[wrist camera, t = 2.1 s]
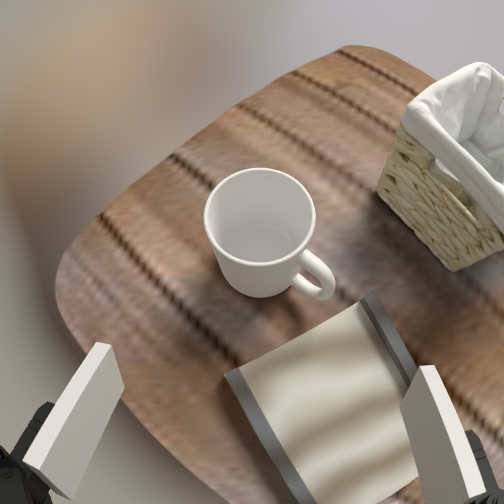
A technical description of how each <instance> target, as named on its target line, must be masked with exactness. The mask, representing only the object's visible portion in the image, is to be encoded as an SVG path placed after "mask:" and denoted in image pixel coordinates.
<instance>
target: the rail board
mask: <svg viewBox="0 0 504 504" xmlns="http://www.w3.org/2000/svg"><path fill="white" fill-rule="evenodd" d="M417 371H418V369H417V367H416V365H415V363H414V361H413V359H412V357H411V356H410V354H409V352H408V350H407V348H406V346H405V344H404V343H403V341H402V339H401V337H400V335H399V334H398V332H397V330H396V328H395V327H394V325H393V323H392V321H391V319H390V318H389V316H388V314H387V313H386V311H385V309H384V307H383V306H382V304H381V302H380V301H379V299H378V297H377V296H376V294H375V292H374V291H373V292H372V293H370V294H369V295H367V296H365V297H364V298H363V299H361V300H360V301H359V302H357V303H355V304H354V305H352V306H350V307H349V308H347V309H345V310H344V311H342V312H340V313H339V314H337V315H335V316H334V317H332V318H330V319H329V320H327V321H325V322H323V323H322V324H320V325H318V326H316V327H315V328H313V329H311V330H309V331H308V332H306V333H304V334H302V335H300V336H299V337H297V338H295V339H293V340H291V341H289V342H287V343H286V344H284V345H282V346H280V347H278V348H276V349H274V350H272V351H270V352H269V353H267V354H265V355H263V356H261V357H259V358H257V359H255V360H253V361H251V362H249V363H247V364H245V365H243V366H241V367H237V368H235V369H233V370H231V371H229V372H227V373H225V374H224V376H225V378H226V380H227V381H228V383H229V385H230V387H231V389H232V391H233V393H234V395H235V397H236V398H237V400H238V402H239V404H240V406H241V408H242V409H243V411H244V413H245V415H246V417H247V419H248V420H249V422H250V424H251V426H252V427H253V429H254V431H255V433H256V434H257V436H258V438H259V440H260V441H261V443H262V445H263V447H264V448H265V450H266V452H267V453H268V455H269V457H270V458H271V460H272V462H273V463H274V465H275V467H276V468H277V470H278V472H279V473H280V475H281V476H282V478H283V480H284V481H285V483H286V484H287V486H288V487H289V489H290V491H291V492H292V494H293V495H294V497H295V498H296V500H297V501H298V503H299V504H378V503H379V502H381V501H383V500H384V499H386V498H387V497H389V496H390V495H392V494H394V493H395V492H397V491H398V490H400V489H401V488H402V487H404V486H405V485H407V484H408V483H410V482H411V481H412V480H414V479H415V478H416V477H418V476H419V475H418V471H417V467H416V463H415V460H414V456H413V452H412V449H411V445H410V442H409V438H408V435H407V431H406V428H405V424H404V421H403V418H402V415H401V411H400V408H399V405H400V404H401V402H402V400H403V398H404V396H405V394H406V392H407V391H408V389H409V387H410V385H411V383H412V381H413V379H414V377H415V375H416V373H417Z"/></svg>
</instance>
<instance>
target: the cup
mask: <svg viewBox="0 0 504 504" xmlns="http://www.w3.org/2000/svg"><path fill="white" fill-rule="evenodd" d="M314 226H315V208H314V204H313V201H312V199H311V197H310V195H309V193H308V192H307V191H306V189H305V188H304V187H303V186H302V185H301V184H300V183H299V182H298V181H297V180H296V179H294V178H293V177H291V176H289V175H287V174H285V173H283V172H281V171H277V170H273V169H268V168H252V169H246V170H242V171H239V172H237V173H234V174H232V175H230V176H229V177H227V178H225V179H224V180H223V181H222V182H220V183H219V184H218V185H217V186H216V187H215V189H214V190H213V191H212V193H211V194H210V196H209V198H208V200H207V202H206V205H205V209H204V227H205V231H206V234H207V236H208V239H209V241H210V244H211V246H212V249H213V251H214V254H215V256H216V259H217V261H218V263H219V266H220V268H221V271H222V273H223V275H224V277H225V278H226V280H227V281H228V283H229V284H230V285H231V286H232V287H233V288H235V289H236V290H237V291H239V292H240V293H243V294H245V295H247V296H251V297H257V298H264V297H270V296H274V295H277V294H279V293H281V292H283V291H284V290H286V289H287V288H288V287H289V286H290V285H292V286H293V287H294V288H296V289H297V290H299V291H300V292H302V293H303V294H305V295H306V296H308V297H310V298H312V299H315V300H320V301H324V300H327V299H329V298H330V297H331V296H332V295H333V293H334V291H335V279H334V276H333V274H332V272H331V270H330V269H329V268H328V267H327V266H326V265H325V264H324V263H323V262H322V261H321V260H320V259H319V258H317V257H316V256H315V255H314V254H312V253H311V252H309V251H308V250H307V248H308V245H309V243H310V239H311V236H312V233H313V230H314ZM301 267H303V268H304V269H306V270H307V271H308V272H310V273H311V274H313V275H314V276H315V277H316V278H317V279H318V280H319V281H320V282H321V284H322V288H318V287H316V286H314V285H313V284H311V283H310V282H309V281H307V280H306V279H305V278H304V277H303V276H301V275H300V274H299V272H300V269H301Z"/></svg>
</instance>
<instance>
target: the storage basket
mask: <svg viewBox="0 0 504 504" xmlns="http://www.w3.org/2000/svg"><path fill="white" fill-rule="evenodd" d="M503 99H504V77H503V76H502V75H501V74H500V73H498V72H497V71H496V70H495V69H494V68H493V67H491V66H490V65H489V64H487V63H481V62H476V63H473V64H470V65H468V66H465V67H464V68H461V69H460V70H458V71H456V72H454V73H453V74H451V75H449V76H447V77H445V78H443V79H441V80H439V81H437V82H436V83H434V84H432V85H431V86H429V87H428V88H426V89H425V90H424V91H423V92H421V93H420V94H419V95H418V96H417V97H415V98H414V99H413V100H412V101H411V102H410V103H409V104H408V105H407V108H406V109H405V110H404V113H403V115H402V116H401V117H400V125H399V126H398V128H397V131H396V134H395V135H396V137H395V139H394V143H393V147H392V150H391V152H390V153H389V155H388V158H387V162H386V165H385V166H384V168H383V170H382V171H383V172H382V174H381V177H380V179H379V181H378V184H377V183H375V185H376V192H377V193H378V194H379V196H380V197H381V199H382V200H383V201H385V202H386V203H387V204H388V205H389V206H390V208H391V209H392V210H393V211H394V212H395V213H396V214H397V215H398V216H400V218H401V219H402V220H403V222H404V223H405V224H406V225H407V226H409V227H410V228H411V229H413V230H414V233H415V234H416V236H417V237H418V238H419V239H420V240H421V241H422V242H423V243H424V244H426V245H427V246H428V247H429V249H430V250H431V252H432V253H433V254H434V255H435V256H436V257H437V258H439V259H440V261H441V262H442V263H443V265H444V266H445V267H446V268H447V269H448V270H450V271H452V272H456V271H458V270H459V269H462V268H466V267H468V266H469V265H473V264H474V263H475V262H477V261H479V260H480V259H485V258H486V257H487V256H490V255H492V254H493V253H494V252H497V251H498V252H499V251H502V250H504V116H503V115H502V114H501V113H500V112H499V111H498V109H499V106H500V104H501V102H502V100H503Z"/></svg>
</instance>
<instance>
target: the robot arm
mask: <svg viewBox="0 0 504 504" xmlns="http://www.w3.org/2000/svg"><path fill="white" fill-rule="evenodd" d="M124 388H125V387H124V384H123V381H122V378H121V375H120V372H119V368H118V365H117V362H116V359H115V355H114V352H113V348H112V345H109V344H104V343H100V342H96V344H95V345H94V347H93V348H92V349H91V351H90V352H89V354H88V355H87V357H86V358H85V360H84V361H83V363H82V364H81V366H80V367H79V369H78V370H77V372H76V373H75V375H74V376H73V378H72V379H71V381H70V382H69V384H68V385H67V387H66V389H65V390H64V392H63V393H62V395H61V396H60V398H59V400H58V401H57V403H56V404H53V403H51V402H46V403H45V404H44V405H42V406H41V407H40V408H38V410H37V411H36V413H35V415H34V416H33V419H32V420H31V421H30V423H29V424H28V427H26V429H25V430H24V432H23V434H22V435H21V437H20V439H19V440H18V442H17V444H16V445H15V447H14V449H13V451H12V452H11V453H10V455H9V454H8V452H7V451H6V450H5V449H4V448H3V447H2V446H0V504H53V503H52V500H51V497H50V495H49V493H48V492H49V490H50V488H51V489H52V490H53V491H54V492H55V493H56V494H58V495H60V496H62V497H64V498H66V499H69V500H71V501H73V499H74V497H75V494H76V492H77V490H78V487H79V485H80V482H81V480H82V478H83V476H84V473H85V471H86V469H87V467H88V464H89V462H90V460H91V458H92V455H93V453H94V451H95V449H96V447H97V444H98V442H99V440H100V438H101V436H102V433H103V431H104V429H105V427H106V425H107V423H108V421H109V419H110V417H111V414H112V412H113V410H114V408H115V406H116V404H117V402H118V400H119V398H120V396H121V394H122V392H123V390H124ZM399 408H400V411H401V415H402V418H403V421H404V424H405V428H406V431H407V435H408V438H409V442H410V445H411V449H412V452H413V456H414V460H415V463H416V467H417V471H418V475H419V479H420V483H421V487H422V492H423V496H424V500H425V504H504V490H502V489H499V487H498V485H497V483H496V480H495V477H494V474H493V472H492V469H491V466H490V464H489V461H488V458H486V453H485V451H484V450H483V446H482V443H481V441H480V439H479V437H478V436H477V435H476V434H475V433H474V432H473V431H472V430H468V431H464V430H463V427H462V425H461V422H460V420H459V418H458V415H457V413H456V411H455V409H454V406H453V404H452V402H451V400H450V397H449V395H448V393H447V391H446V389H445V387H444V385H443V382H442V380H441V378H440V376H439V374H438V372H437V370H436V368H435V366H434V365H428V366H420V367H419V369H418V371H417V373H416V375H415V377H414V379H413V381H412V383H411V385H410V387H409V389H408V391H407V392H406V394H405V396H404V398H403V400H402V402H401V404H400V405H399Z"/></svg>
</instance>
